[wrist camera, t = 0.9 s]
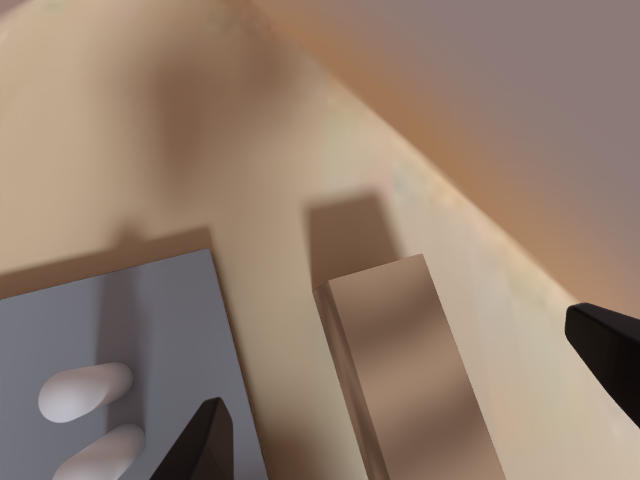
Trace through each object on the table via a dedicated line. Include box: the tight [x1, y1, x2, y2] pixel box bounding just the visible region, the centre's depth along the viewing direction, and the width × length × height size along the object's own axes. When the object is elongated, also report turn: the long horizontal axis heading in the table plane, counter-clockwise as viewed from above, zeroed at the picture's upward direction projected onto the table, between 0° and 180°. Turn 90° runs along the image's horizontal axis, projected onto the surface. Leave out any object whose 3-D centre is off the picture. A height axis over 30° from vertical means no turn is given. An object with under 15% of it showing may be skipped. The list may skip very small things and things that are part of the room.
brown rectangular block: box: [313, 254, 506, 480], centre depth 19 cm, size 18×6×5 cm, turn 17°
